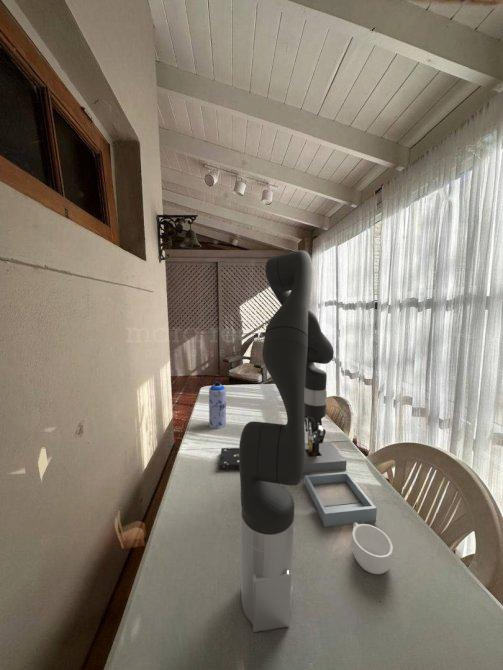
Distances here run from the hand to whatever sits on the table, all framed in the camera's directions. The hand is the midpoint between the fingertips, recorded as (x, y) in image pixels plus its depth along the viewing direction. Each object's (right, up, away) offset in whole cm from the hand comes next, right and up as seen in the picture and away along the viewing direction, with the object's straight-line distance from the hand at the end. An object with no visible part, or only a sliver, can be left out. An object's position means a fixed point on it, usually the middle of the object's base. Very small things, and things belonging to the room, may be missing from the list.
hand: (313, 449), depth 89 cm
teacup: (+4, -9, -33) cm, 34 cm away
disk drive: (-25, -6, +2) cm, 25 cm away
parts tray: (+3, -7, -17) cm, 19 cm away
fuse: (0, -4, 0) cm, 4 cm away
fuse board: (0, -5, +1) cm, 5 cm away
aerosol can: (-36, -2, +30) cm, 47 cm away
